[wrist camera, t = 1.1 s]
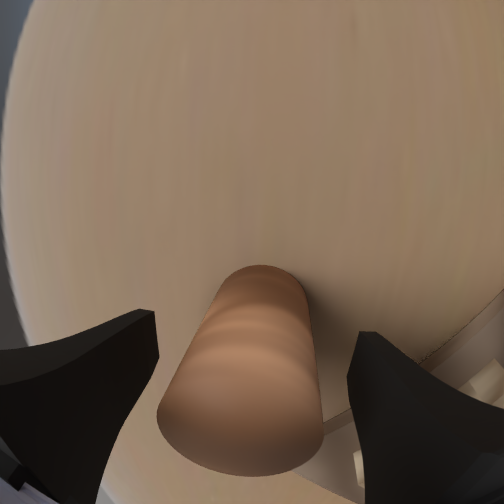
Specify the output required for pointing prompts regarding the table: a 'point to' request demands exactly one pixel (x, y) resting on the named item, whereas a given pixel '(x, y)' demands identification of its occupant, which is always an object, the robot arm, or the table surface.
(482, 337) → the socket
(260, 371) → the peg
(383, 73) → the table surface
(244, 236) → the table surface
